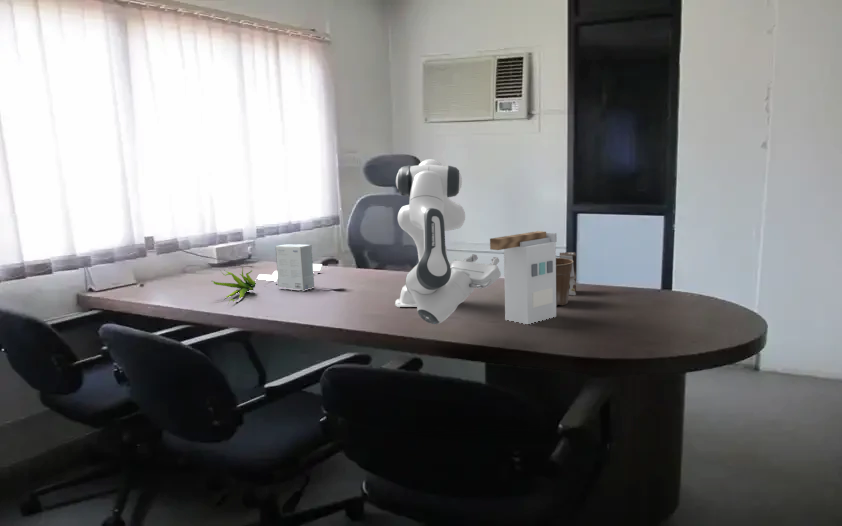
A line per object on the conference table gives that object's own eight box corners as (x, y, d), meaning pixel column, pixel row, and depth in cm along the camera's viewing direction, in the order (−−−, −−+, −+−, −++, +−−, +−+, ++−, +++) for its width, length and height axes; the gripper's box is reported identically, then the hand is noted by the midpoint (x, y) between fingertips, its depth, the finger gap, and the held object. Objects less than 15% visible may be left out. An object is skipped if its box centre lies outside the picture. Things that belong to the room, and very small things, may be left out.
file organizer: (253, 285, 318) (252, 274, 317) (303, 272, 347) (303, 263, 346) (273, 286, 311) (272, 276, 310) (322, 274, 340) (322, 264, 339)
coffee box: (576, 295, 264) (576, 255, 261) (559, 295, 265) (559, 255, 262) (575, 290, 272) (575, 251, 270) (559, 290, 274) (559, 251, 271)
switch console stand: (528, 325, 221) (527, 238, 216) (505, 320, 229) (503, 236, 224) (558, 316, 231) (557, 233, 226) (534, 312, 239) (533, 231, 234)
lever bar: (498, 250, 213) (497, 239, 213) (490, 249, 216) (489, 238, 215) (546, 241, 228) (546, 231, 228) (538, 241, 231) (538, 231, 231)
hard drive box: (315, 288, 299) (312, 244, 296) (303, 292, 293) (300, 247, 289) (289, 286, 307) (286, 243, 304) (277, 289, 301) (274, 245, 298)
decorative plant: (195, 306, 273) (192, 271, 271) (246, 292, 299) (243, 259, 296) (228, 309, 264) (224, 273, 262) (277, 294, 290) (275, 261, 288)
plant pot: (570, 308, 241) (570, 265, 239) (526, 307, 247) (525, 264, 245) (576, 299, 256) (576, 258, 254) (534, 297, 262) (533, 257, 260)
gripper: (479, 280, 197) (506, 252, 203) (433, 273, 212) (460, 246, 219) (487, 297, 200) (514, 268, 206) (441, 288, 215) (467, 262, 222)
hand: (486, 257), depth 213 cm, fingers open, 8 cm apart
